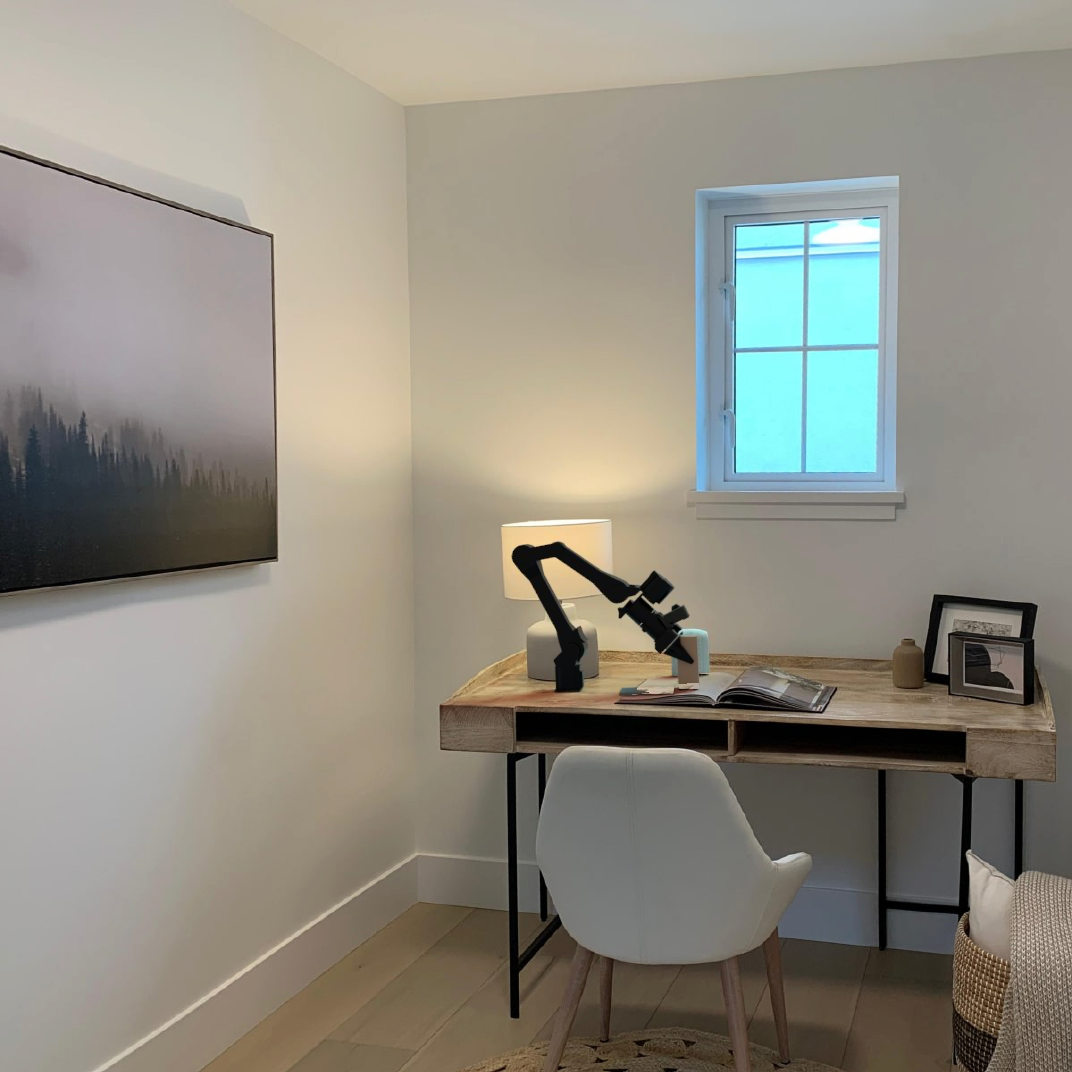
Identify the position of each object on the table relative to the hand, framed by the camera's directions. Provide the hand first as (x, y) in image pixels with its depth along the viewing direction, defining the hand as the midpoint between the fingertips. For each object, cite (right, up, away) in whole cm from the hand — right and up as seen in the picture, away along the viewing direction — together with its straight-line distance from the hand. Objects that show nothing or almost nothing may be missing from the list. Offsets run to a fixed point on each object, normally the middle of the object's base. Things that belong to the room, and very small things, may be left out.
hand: (693, 661), depth 294 cm
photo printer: (+2, -6, +23) cm, 24 cm away
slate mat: (-12, -7, -3) cm, 14 cm away
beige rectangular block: (-1, -7, 0) cm, 7 cm away
